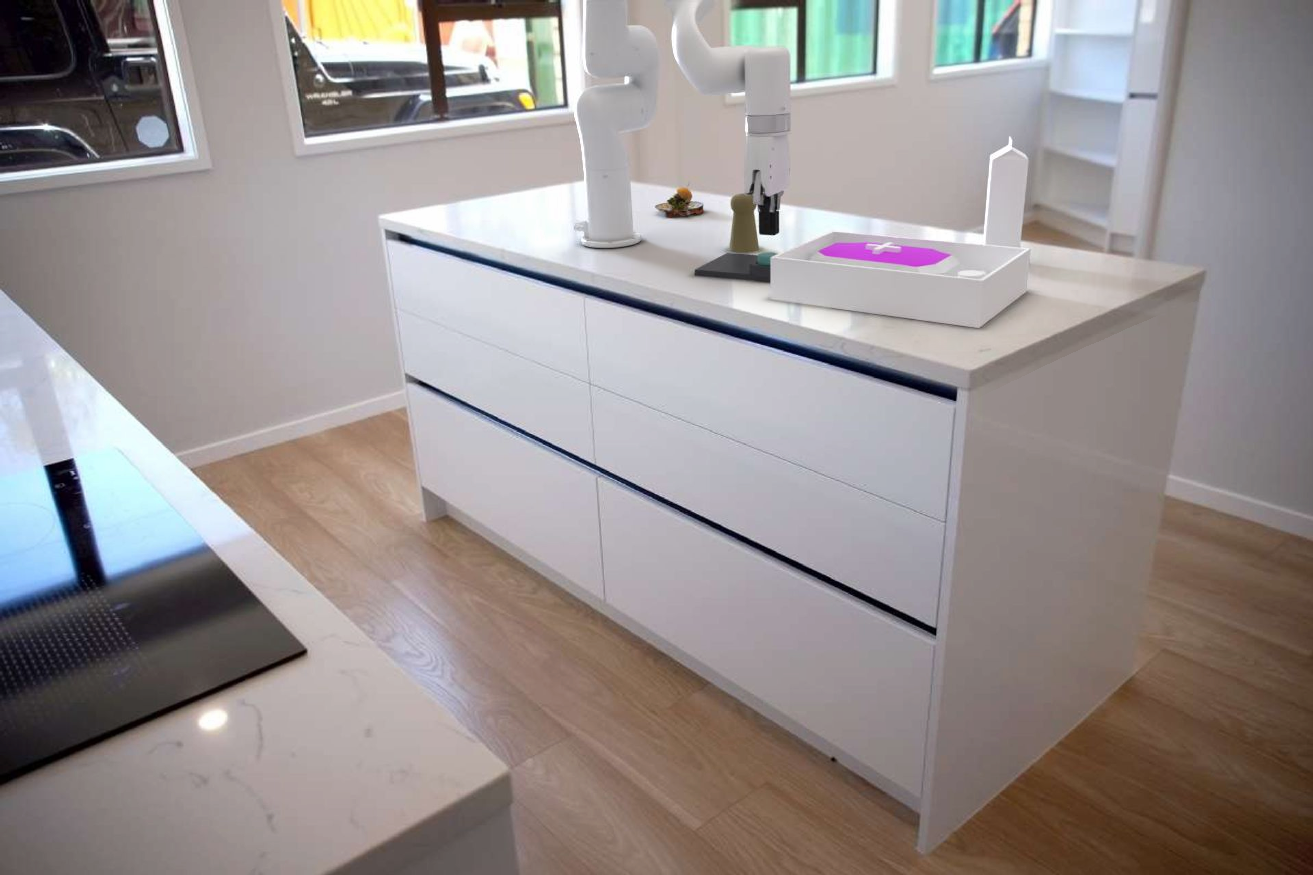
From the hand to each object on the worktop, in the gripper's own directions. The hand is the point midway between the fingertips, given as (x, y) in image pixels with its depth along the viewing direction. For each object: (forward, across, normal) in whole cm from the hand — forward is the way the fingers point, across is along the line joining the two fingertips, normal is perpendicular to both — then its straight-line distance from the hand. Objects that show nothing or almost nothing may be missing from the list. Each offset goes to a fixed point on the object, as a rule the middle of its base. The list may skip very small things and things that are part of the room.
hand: (769, 234), depth 175 cm
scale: (+8, -5, -6) cm, 11 cm away
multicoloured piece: (+8, -51, -45) cm, 68 cm away
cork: (+8, -20, -14) cm, 25 cm away
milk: (+8, -23, +35) cm, 43 cm away
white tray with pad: (+8, +3, +24) cm, 26 cm away
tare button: (+5, 0, 0) cm, 5 cm away
